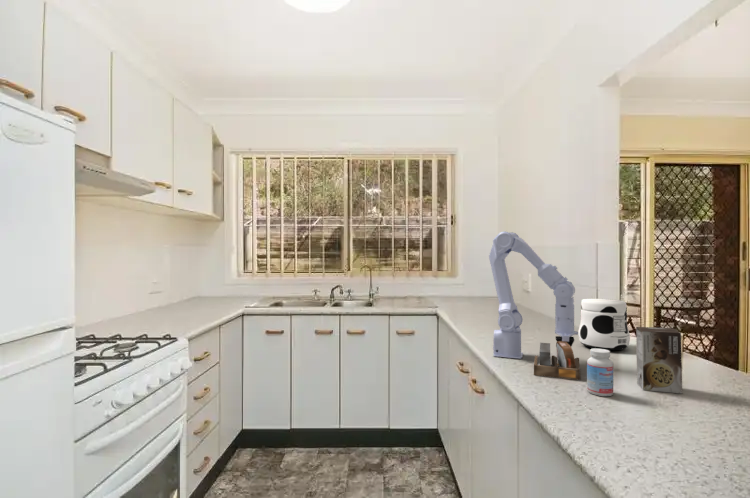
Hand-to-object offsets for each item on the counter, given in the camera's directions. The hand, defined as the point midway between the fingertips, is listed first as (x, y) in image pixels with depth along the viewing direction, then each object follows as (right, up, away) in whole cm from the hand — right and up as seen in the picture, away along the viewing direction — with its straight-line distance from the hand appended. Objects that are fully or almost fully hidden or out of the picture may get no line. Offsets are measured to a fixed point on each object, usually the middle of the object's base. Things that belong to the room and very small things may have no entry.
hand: (564, 358), depth 137 cm
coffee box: (+14, -2, -25) cm, 29 cm away
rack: (-6, -1, -9) cm, 11 cm away
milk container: (+25, -2, +21) cm, 33 cm away
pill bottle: (-4, -2, -28) cm, 29 cm away
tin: (-4, -2, -8) cm, 9 cm away
